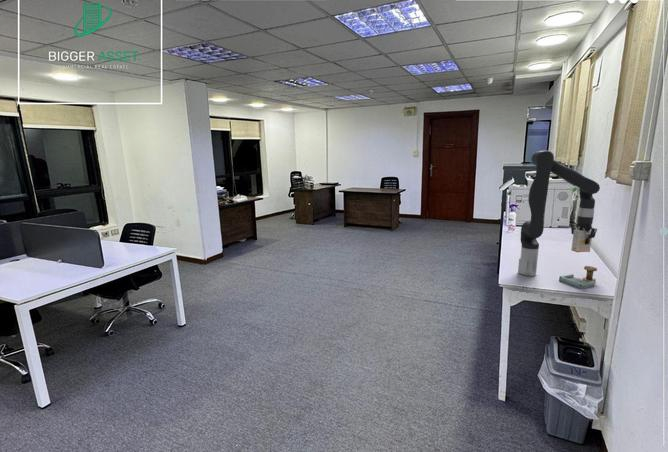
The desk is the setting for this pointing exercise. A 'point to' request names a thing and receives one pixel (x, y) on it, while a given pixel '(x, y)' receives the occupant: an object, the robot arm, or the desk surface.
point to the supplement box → (580, 242)
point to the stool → (589, 273)
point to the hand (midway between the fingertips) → (581, 243)
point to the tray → (576, 281)
